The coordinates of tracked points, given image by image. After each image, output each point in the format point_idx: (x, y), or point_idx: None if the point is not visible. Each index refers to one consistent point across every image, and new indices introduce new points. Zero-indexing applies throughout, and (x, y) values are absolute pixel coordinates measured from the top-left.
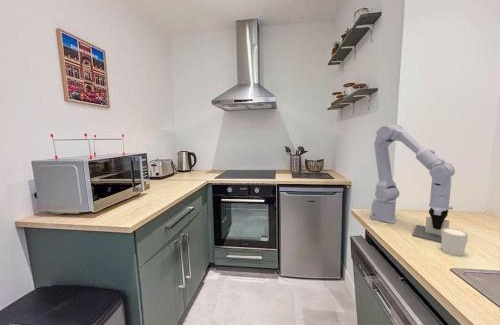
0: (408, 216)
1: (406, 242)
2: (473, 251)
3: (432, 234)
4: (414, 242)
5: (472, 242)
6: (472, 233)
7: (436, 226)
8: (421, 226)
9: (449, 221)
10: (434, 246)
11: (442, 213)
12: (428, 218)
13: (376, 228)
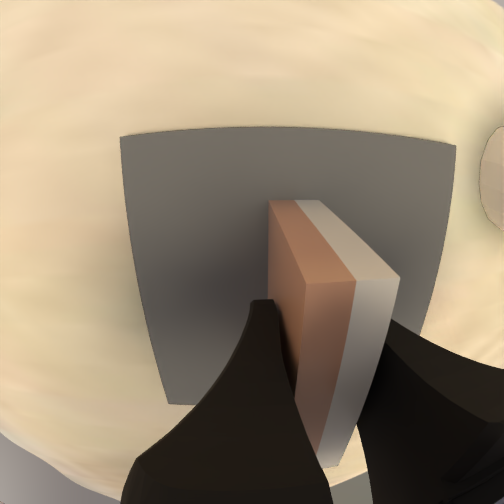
0: (40, 416)
1: (479, 360)
2: (454, 55)
3: None
4: (473, 341)
5: (258, 18)
6: (15, 61)
7: None
8: (181, 383)
9: (356, 280)
10: (491, 262)
11: (494, 459)
12: (341, 452)
13: (363, 466)
